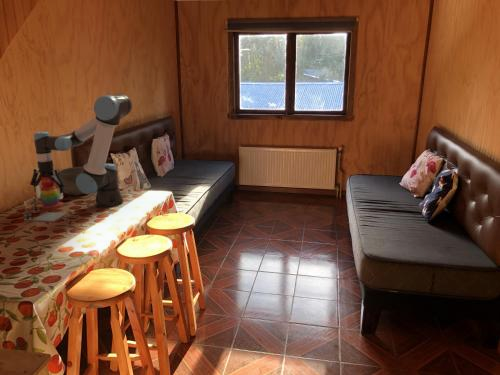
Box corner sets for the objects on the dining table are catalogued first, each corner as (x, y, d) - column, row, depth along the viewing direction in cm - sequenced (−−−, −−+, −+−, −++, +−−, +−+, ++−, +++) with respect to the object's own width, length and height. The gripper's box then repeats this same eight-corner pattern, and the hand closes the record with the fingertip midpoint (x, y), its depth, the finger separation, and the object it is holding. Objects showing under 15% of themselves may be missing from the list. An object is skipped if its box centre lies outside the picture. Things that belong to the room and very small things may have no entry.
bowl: (88, 198, 253) (85, 173, 248) (52, 198, 252) (49, 174, 248) (99, 188, 273) (96, 165, 269) (67, 189, 272) (64, 166, 268)
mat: (67, 214, 224) (67, 213, 224) (53, 222, 213) (53, 221, 213) (47, 213, 227) (46, 212, 226) (32, 220, 215) (32, 219, 215)
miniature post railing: (48, 211, 229) (45, 196, 227) (29, 221, 215) (26, 205, 212) (35, 210, 231) (33, 195, 228) (15, 220, 216) (12, 204, 214)
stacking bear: (65, 204, 241) (61, 174, 236) (56, 210, 231) (51, 178, 226) (47, 204, 242) (43, 174, 237) (37, 209, 232) (32, 178, 228)
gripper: (69, 159, 231) (74, 196, 237) (28, 158, 235) (34, 194, 241) (61, 162, 224) (66, 201, 230) (19, 161, 228) (25, 198, 234)
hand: (50, 197), depth 235 cm, fingers open, 13 cm apart
